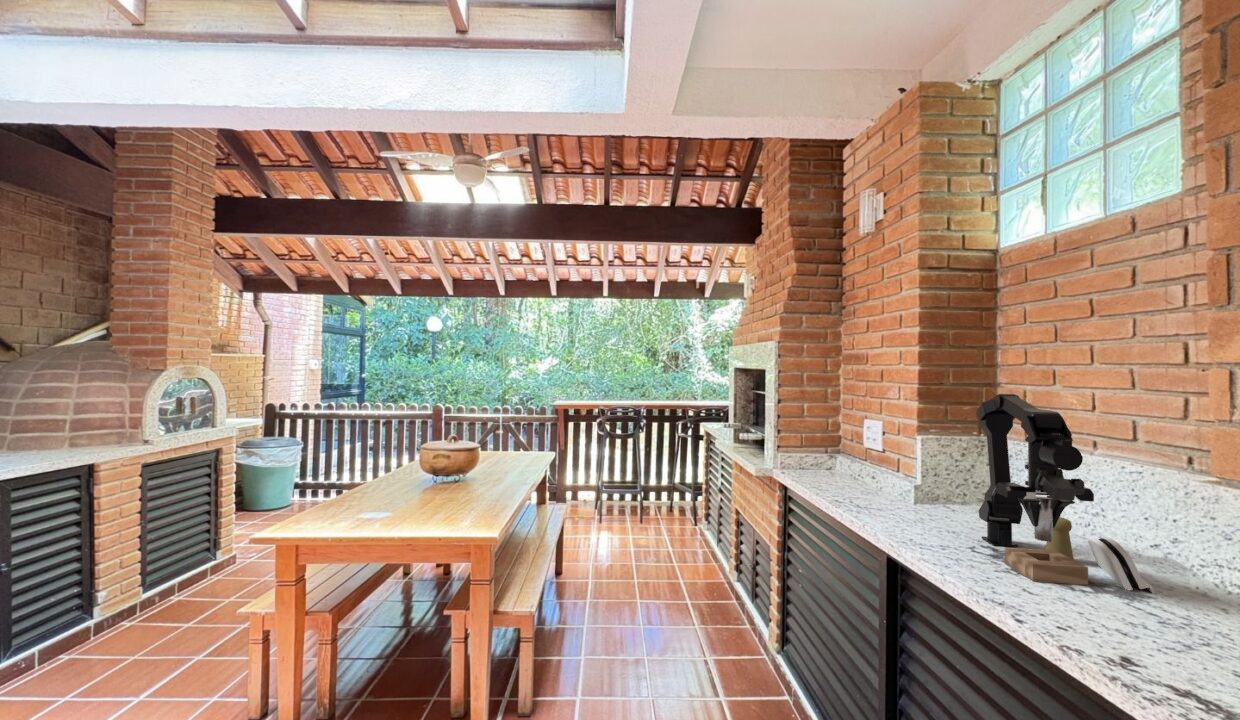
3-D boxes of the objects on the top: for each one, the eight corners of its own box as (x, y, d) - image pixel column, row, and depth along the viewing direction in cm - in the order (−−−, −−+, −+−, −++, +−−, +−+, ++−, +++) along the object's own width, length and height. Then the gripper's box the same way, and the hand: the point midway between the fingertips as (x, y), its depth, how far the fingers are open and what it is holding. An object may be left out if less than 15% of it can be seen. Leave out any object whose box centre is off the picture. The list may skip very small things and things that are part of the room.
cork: (1047, 561, 135) (1047, 518, 135) (1041, 554, 140) (1041, 513, 140) (1077, 565, 132) (1077, 522, 132) (1070, 558, 137) (1070, 516, 137)
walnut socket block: (1004, 563, 133) (1004, 547, 133) (1054, 566, 131) (1054, 550, 131) (1033, 581, 122) (1032, 564, 122) (1088, 584, 120) (1087, 567, 120)
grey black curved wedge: (1156, 594, 115) (1135, 549, 117) (1129, 597, 117) (1109, 553, 119) (1123, 568, 130) (1105, 529, 132) (1100, 571, 132) (1083, 532, 134)
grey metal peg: (1031, 536, 129) (1031, 496, 129) (1046, 537, 128) (1046, 496, 128) (1040, 541, 125) (1040, 499, 125) (1056, 541, 125) (1056, 500, 125)
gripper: (1021, 467, 121) (1021, 535, 120) (1112, 470, 118) (1112, 539, 117) (994, 459, 132) (994, 521, 131) (1076, 461, 129) (1077, 524, 128)
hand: (1043, 526), depth 127 cm, fingers closed on grey metal peg, 3 cm apart
